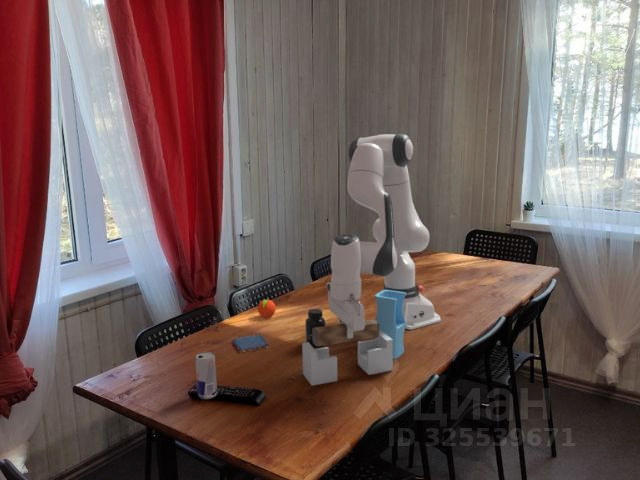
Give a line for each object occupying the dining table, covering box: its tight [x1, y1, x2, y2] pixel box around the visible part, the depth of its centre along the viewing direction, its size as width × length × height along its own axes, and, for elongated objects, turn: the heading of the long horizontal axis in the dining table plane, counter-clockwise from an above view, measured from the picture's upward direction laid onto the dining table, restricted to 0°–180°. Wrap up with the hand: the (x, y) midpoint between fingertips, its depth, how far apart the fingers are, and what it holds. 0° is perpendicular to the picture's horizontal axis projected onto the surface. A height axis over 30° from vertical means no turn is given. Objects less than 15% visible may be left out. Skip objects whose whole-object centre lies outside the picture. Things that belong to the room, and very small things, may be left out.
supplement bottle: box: [304, 308, 326, 349], centre depth 192 cm, size 7×7×12 cm
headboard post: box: [357, 330, 394, 376], centre depth 174 cm, size 8×8×10 cm
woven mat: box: [231, 333, 270, 354], centre depth 194 cm, size 10×11×2 cm
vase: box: [374, 289, 406, 360], centre depth 183 cm, size 8×8×20 cm
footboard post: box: [301, 342, 338, 386], centre depth 168 cm, size 8×8×10 cm
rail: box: [312, 318, 379, 347], centre depth 169 cm, size 20×4×4 cm, turn 109°
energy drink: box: [195, 351, 218, 400], centre depth 159 cm, size 5×5×12 cm
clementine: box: [257, 299, 277, 318], centre depth 219 cm, size 8×7×7 cm
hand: (346, 334), depth 169 cm, fingers closed on rail, 3 cm apart
